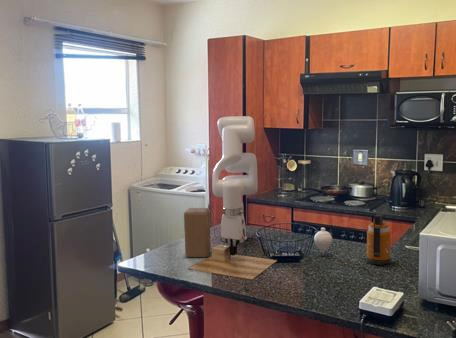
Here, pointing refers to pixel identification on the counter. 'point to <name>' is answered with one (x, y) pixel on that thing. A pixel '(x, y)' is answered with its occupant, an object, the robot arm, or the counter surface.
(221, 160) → the robot arm
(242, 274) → the wooden board
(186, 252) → the block
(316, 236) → the spinning top
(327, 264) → the counter surface
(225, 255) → the oak cube
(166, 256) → the counter surface
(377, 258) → the amber tall bottle
